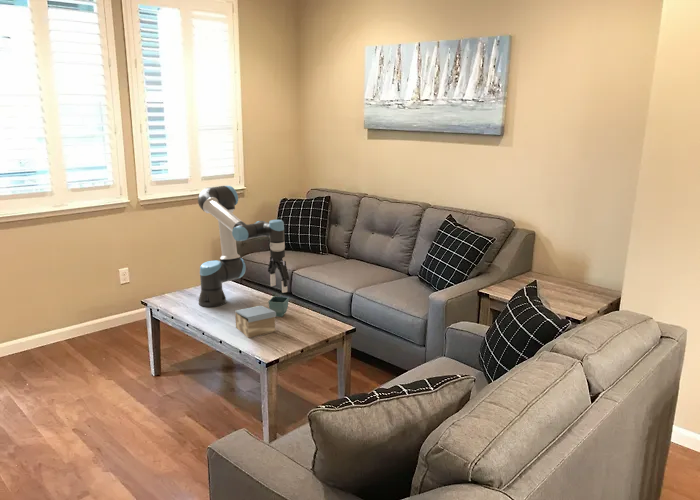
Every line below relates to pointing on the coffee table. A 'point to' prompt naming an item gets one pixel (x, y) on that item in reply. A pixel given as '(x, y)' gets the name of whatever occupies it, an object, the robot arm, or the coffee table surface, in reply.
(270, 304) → the flower pot
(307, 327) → the coffee table surface
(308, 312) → the coffee table surface
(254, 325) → the crate
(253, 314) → the lid
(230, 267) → the robot arm
